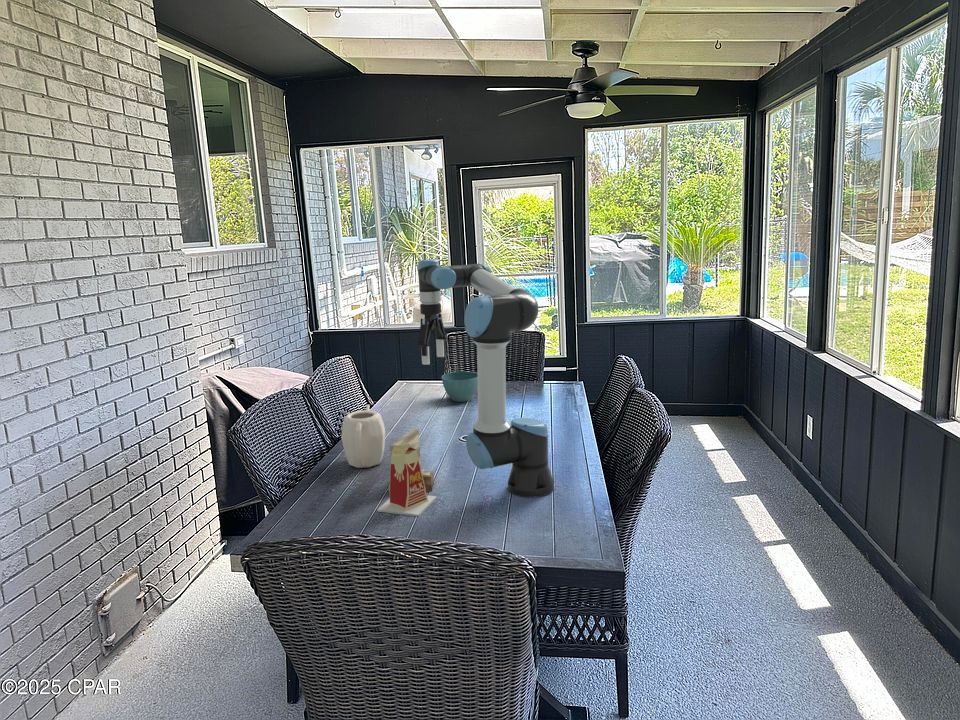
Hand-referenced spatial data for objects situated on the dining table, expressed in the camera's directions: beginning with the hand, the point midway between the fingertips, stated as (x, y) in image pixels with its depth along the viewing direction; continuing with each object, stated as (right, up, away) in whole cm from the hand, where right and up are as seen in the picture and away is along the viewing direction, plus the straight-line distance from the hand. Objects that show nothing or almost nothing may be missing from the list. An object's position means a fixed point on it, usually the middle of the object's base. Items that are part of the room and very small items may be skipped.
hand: (433, 360), depth 246 cm
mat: (-6, -45, -36) cm, 58 cm away
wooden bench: (-8, -41, -17) cm, 46 cm away
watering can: (-25, -38, +4) cm, 46 cm away
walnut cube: (-1, -42, -23) cm, 48 cm away
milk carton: (-6, -45, -36) cm, 57 cm away
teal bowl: (+8, -20, +85) cm, 88 cm away
